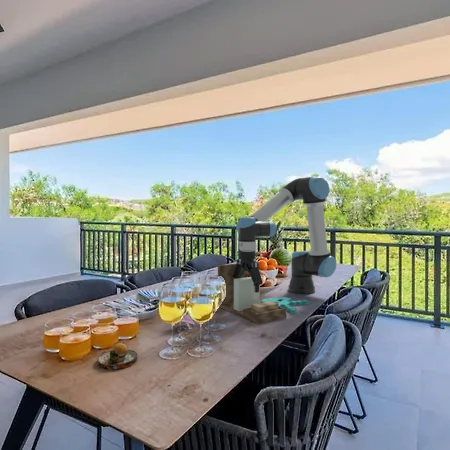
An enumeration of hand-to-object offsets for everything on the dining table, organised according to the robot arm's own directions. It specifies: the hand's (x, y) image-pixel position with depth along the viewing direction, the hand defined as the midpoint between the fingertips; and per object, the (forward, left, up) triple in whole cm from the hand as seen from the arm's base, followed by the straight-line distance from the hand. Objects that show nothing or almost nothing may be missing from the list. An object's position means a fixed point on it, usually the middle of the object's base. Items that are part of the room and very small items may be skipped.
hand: (246, 296), depth 163 cm
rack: (0, +3, -7) cm, 7 cm away
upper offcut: (0, +13, -3) cm, 14 cm away
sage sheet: (0, 0, -6) cm, 6 cm away
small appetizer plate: (+66, +23, -7) cm, 70 cm away
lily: (+35, +5, -7) cm, 36 cm away
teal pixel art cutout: (-19, +3, -7) cm, 21 cm away
